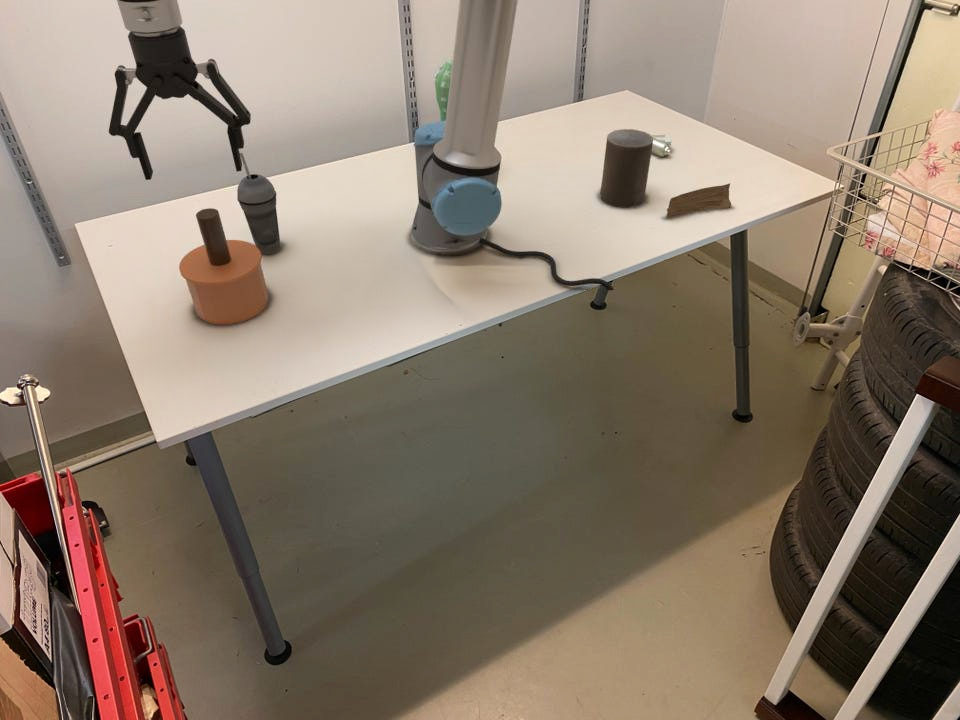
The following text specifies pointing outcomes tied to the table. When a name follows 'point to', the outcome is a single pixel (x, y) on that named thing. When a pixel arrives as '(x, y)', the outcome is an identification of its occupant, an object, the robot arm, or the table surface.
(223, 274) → the lid
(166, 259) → the table surface
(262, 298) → the canister
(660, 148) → the pipe fitting
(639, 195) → the pillar candle
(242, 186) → the beverage cup
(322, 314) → the table surface
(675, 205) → the wood plank
